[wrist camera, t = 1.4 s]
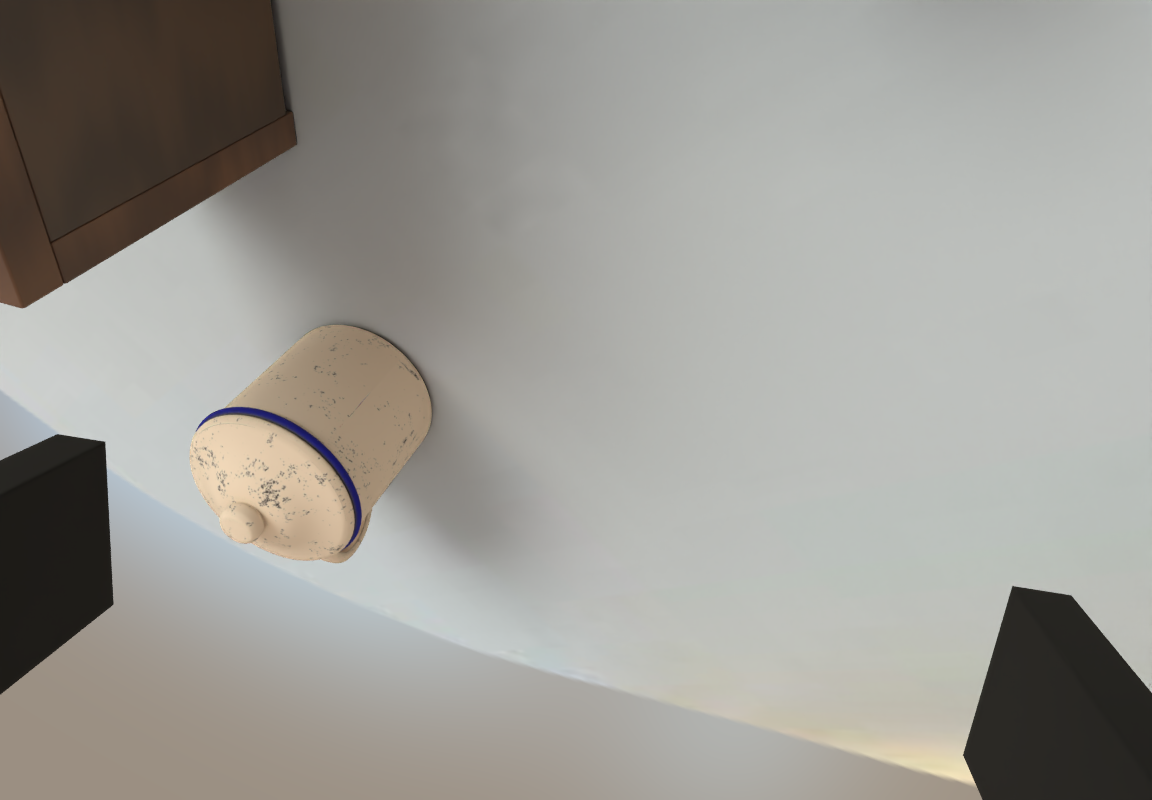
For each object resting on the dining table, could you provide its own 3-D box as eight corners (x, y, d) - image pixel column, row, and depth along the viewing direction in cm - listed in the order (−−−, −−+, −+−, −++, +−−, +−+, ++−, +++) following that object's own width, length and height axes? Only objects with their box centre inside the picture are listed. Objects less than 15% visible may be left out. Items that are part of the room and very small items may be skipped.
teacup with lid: (272, 311, 48) (118, 439, 39) (420, 323, 45) (291, 465, 36) (329, 481, 54) (209, 623, 45) (461, 501, 51) (361, 657, 43)
